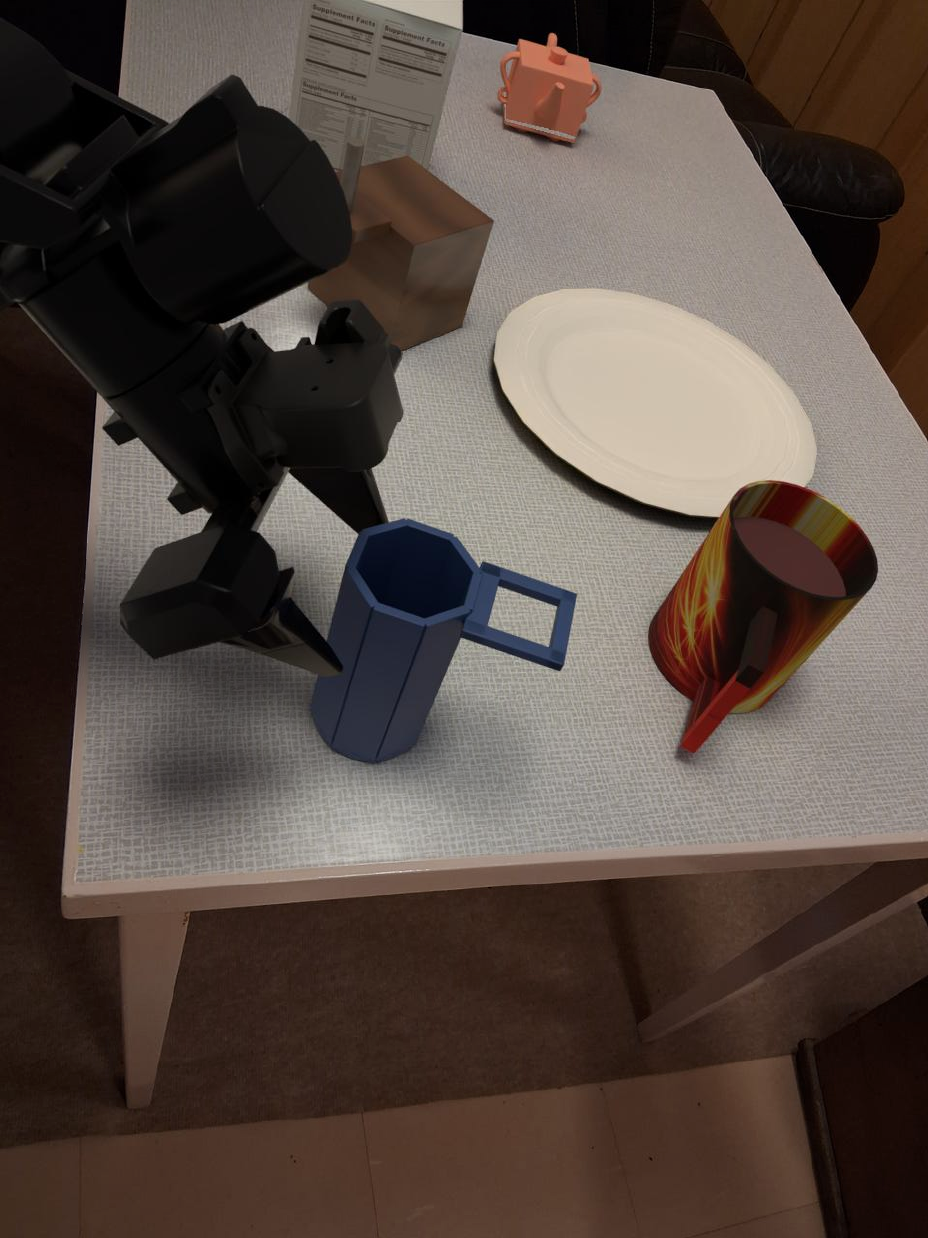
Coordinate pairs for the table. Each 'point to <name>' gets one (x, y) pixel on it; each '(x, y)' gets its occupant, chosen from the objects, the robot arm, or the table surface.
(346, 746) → the measuring cup
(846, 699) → the table surface
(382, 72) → the supplement box
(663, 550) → the table surface
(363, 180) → the hook box
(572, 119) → the teapot
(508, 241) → the table surface
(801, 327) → the table surface
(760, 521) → the mug
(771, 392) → the plate
